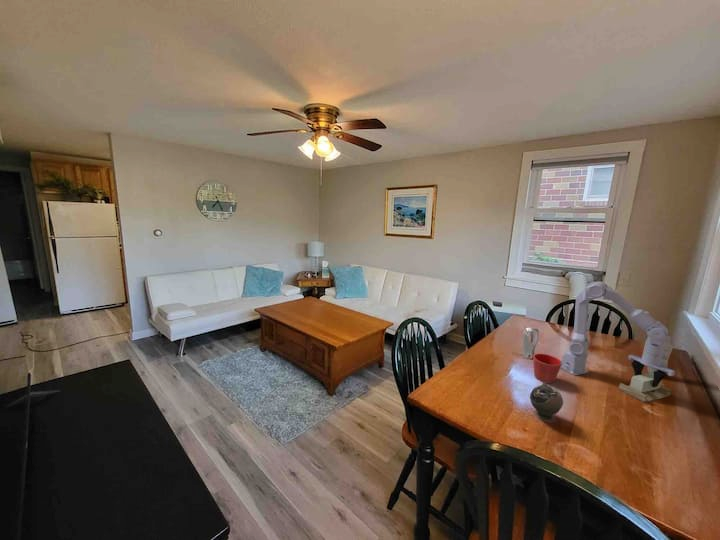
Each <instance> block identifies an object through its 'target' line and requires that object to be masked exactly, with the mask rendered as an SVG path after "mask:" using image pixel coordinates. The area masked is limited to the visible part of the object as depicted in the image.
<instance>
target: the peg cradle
mask: <svg viewBox="0 0 720 540" xmlns="http://www.w3.org/2000/svg"><path fill="white" fill-rule="evenodd" d="M618 390H619V391H620V392H622V393H624V394H627V395H628V396H629V397H633V398H635V399H636V400H639V401H640V402H642V403H645V404H646V403H648V402H651V401H655V400H660V399H663V398H667V397H670V394H671V388H668V387H665V386H663V385H662V384H661V385H660V388H659V389H655V390H651V391H646V392H642V393H641V392H639V391H637V390H635V389H633V388H631V387H630V385H626V384H624V383H622V382H620V383H619V387H618Z"/></svg>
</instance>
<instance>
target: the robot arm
mask: <svg viewBox="0 0 720 540" xmlns="http://www.w3.org/2000/svg"><path fill="white" fill-rule="evenodd" d="M602 297H603V298H602ZM600 298H602V300H606V301H611V302H613V303H614V304H615V305H617V306H618V307H620V309H621V310H623V311H625V312H626V313H627V314H628V315H629V316H628V318H629V319H630V320H631V321H632V322H633V323H634V324H635V325H637V326H638V328H640V329H641V330H643V331H645V332H646V334H647V338H646V339H645V343H644V346H643V351H642V356H641V357H640V356H639V355H634V354H632V353H631V354H628V357H627V360H630V361H631V360H632V362H631V367H632V369H633V371H634V376H637V375H642V373H643V370H644V367H645V366H646V367H647V368H648V367H651V368H653V369H656V370H658V371H654V372H653V373H654V380H653V383H652V387H657V386H658V384H659V383H660V381H661V380H664V378H666V377H667V376H670V377H674V376H675V373H676V371H675V370H673V369H670V368H669V367H668V366H667V367H665V366H663V365H661V361H662V357H663V353H664V349H665V343H666V339H667V338H668V335H669V329H668V328H667V326H666V325H665V324H664V323H662V322H660V321H657V320H656V319H655V318H653V317H652V316H651V315H650V312H649V311H647V310H646V311H645V310H644V309H638V308H636V307H635V306H633V304H631V303H630V302H629V301H628V300H627V299H625V297H623V296H622V295H621V294H620V293H618V292H617V291H616V290H615V289H614V288H613V287H612V286H610V285H608V284H607V283H605V282H604V281H594V282H593V283H590V284H589V285H588V286H586V287H584V289H583V290H581V291H580V293H578V295H576V297H575V311H574V325H573V334H572V338H571V342H570V343H569V344H568V345H569V346H568V351H567V353H564V354H563V356H562V360H561V362H562V365H561V367H560V369H562V370H564V371H566V372H568V373H570V374H572V375H574V376H578V375H583V374H588V373H590V371H589V370H587V369H586V364H587V359H588V351H587V350H588V349H589V348H590V342H589V340H588V334H587V333H588V320H589V319H588V318H589V306H590V304H589V303H590V302H591V301H593V300H596V299H600ZM661 382H662V381H661Z"/></svg>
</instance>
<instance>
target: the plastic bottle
mask: <svg viewBox="0 0 720 540" xmlns="http://www.w3.org/2000/svg"><path fill="white" fill-rule="evenodd" d="M671 340H672V336H670V335H669V334H668V338H667V339H666V343H665V349H664V353H663V357H662V361H661V365H663V366H665V367H667V368H668V363H669V359H670V356H671V353H672V351H673V349H674V348H673V344H672V343H671V342H670V341H671ZM654 371H658V370H656V369H653V368H651V367H648V366H647V373H653V372H654ZM653 374H654V373H653Z"/></svg>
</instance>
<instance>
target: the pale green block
mask: <svg viewBox="0 0 720 540" xmlns="http://www.w3.org/2000/svg"><path fill="white" fill-rule="evenodd" d="M653 380H654V374H653V373H649V372H647V373H643V374H641V375H637V376H635V375H634V376H631V380H630V384H629V386H630V387H631V388H633V389H635V390H637V391H639V392H641V393H642V392H646V391H651V390H655V389H659V388H660V385H661V386H662V380H663V379H662V380H661V381H660V383H659V384H658V386H657V387H652V383H653Z"/></svg>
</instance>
